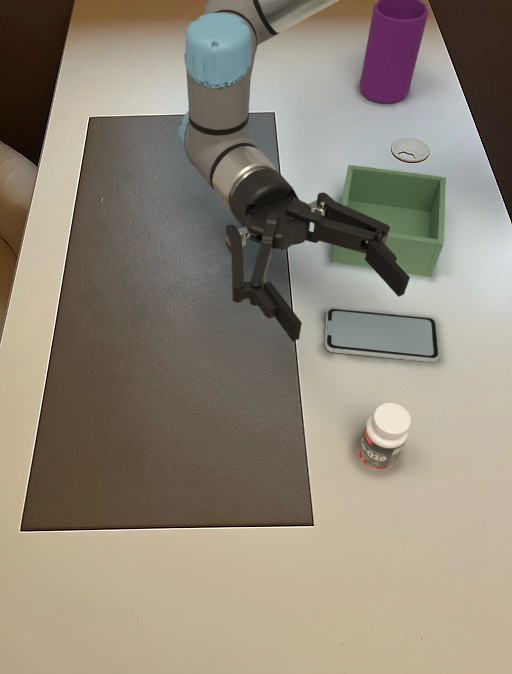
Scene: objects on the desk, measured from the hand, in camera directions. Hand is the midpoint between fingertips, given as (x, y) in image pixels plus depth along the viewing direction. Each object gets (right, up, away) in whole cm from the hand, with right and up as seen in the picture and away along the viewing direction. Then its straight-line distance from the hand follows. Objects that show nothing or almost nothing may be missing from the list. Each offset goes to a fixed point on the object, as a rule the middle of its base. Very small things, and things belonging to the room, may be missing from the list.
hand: (352, 309), depth 66 cm
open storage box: (+11, +15, +30) cm, 35 cm away
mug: (+17, +50, +54) cm, 75 cm away
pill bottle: (+5, -16, +9) cm, 19 cm away
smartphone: (+8, -2, +19) cm, 20 cm away
